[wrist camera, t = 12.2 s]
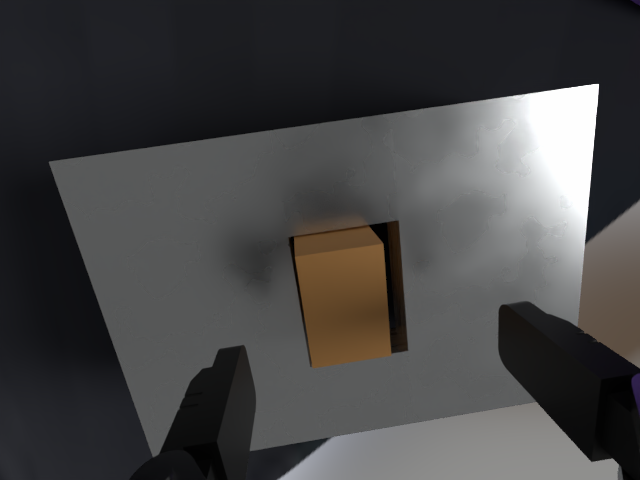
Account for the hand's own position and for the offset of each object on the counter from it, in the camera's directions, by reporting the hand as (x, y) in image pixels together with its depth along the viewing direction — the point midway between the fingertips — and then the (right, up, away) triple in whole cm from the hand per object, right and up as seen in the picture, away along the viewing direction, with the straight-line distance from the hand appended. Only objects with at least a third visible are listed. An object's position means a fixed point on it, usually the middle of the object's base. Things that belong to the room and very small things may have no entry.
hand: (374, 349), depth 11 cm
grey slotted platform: (-1, +3, +11) cm, 12 cm away
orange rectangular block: (-2, +4, +11) cm, 12 cm away
